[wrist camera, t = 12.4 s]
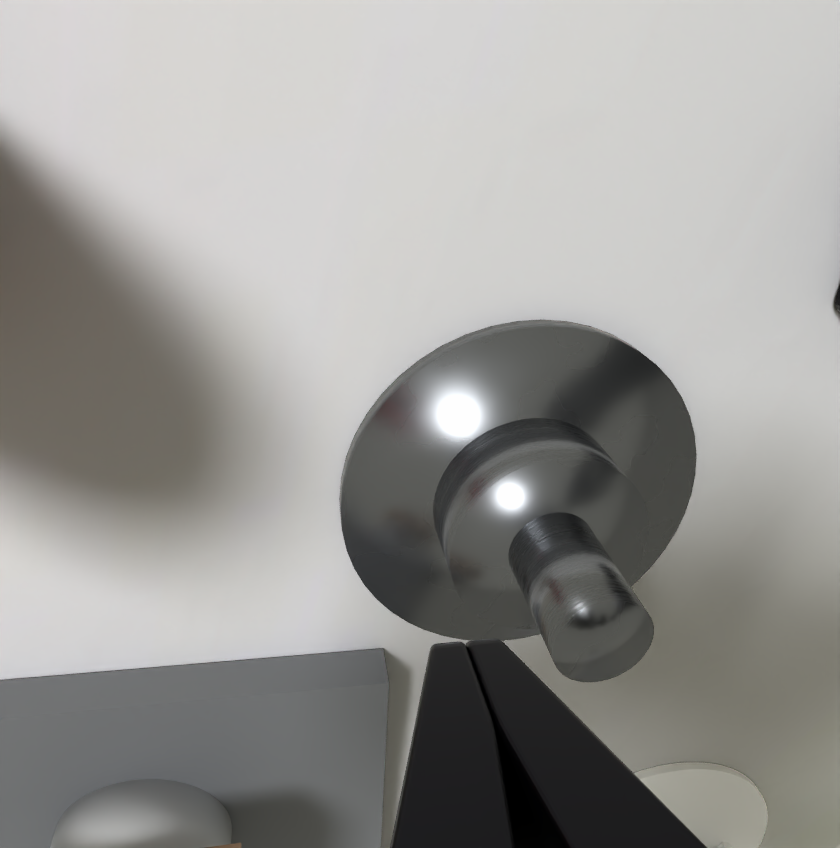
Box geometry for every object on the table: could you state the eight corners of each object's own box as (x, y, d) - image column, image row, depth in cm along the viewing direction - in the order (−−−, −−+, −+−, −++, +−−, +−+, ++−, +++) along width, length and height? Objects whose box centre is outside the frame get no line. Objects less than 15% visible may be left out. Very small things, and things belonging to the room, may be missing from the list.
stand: (724, 320, 20) (900, 417, 14) (647, 615, 25) (756, 778, 19) (340, 319, 18) (366, 432, 12) (338, 640, 23) (355, 830, 17)
